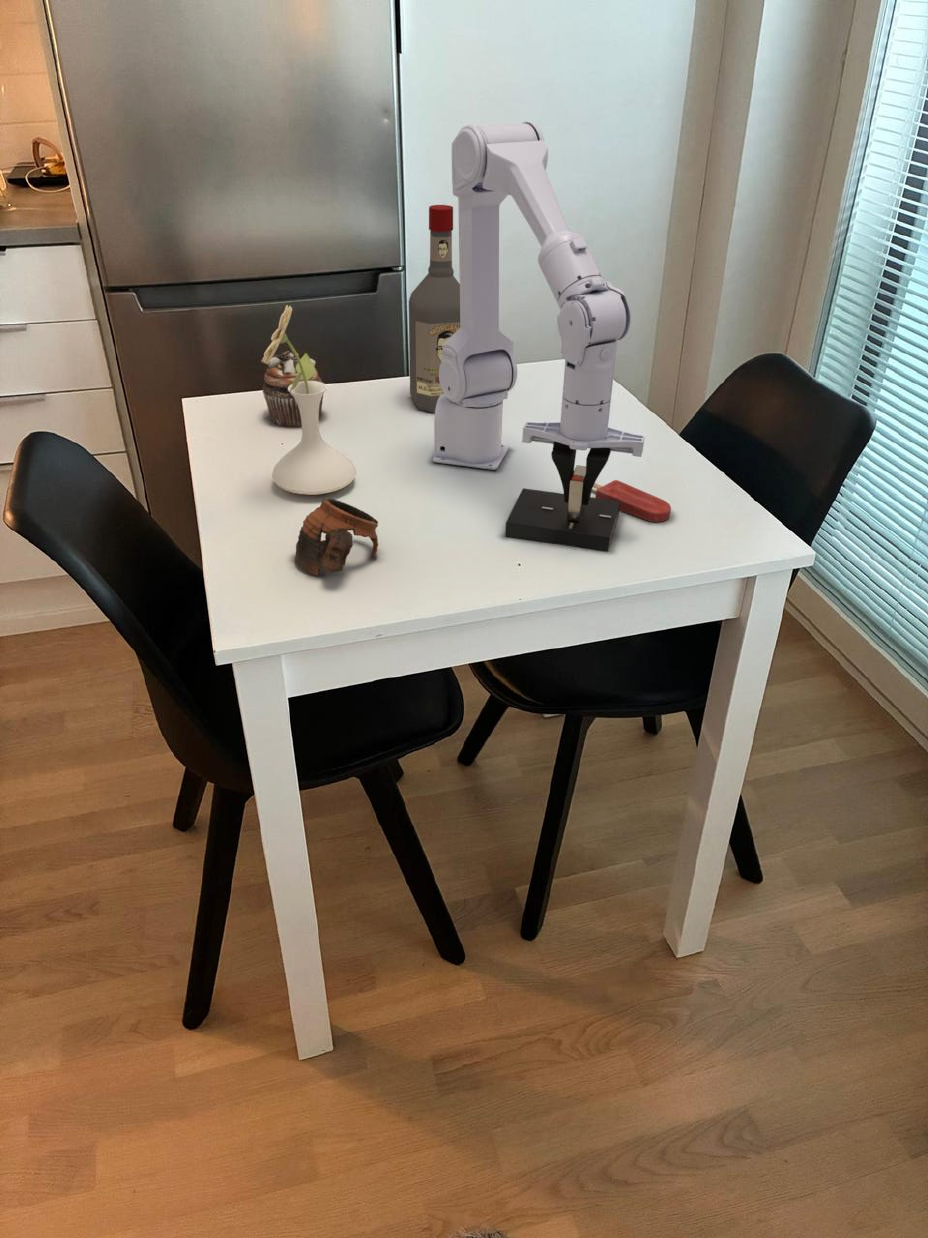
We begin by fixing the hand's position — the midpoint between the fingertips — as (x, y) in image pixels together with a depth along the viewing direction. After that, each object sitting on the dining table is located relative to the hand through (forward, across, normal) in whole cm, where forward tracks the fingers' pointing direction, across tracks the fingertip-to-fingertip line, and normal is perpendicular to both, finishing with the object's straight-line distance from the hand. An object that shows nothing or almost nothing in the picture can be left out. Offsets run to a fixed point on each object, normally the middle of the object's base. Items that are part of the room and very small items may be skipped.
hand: (577, 500), depth 119 cm
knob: (+2, 0, 0) cm, 2 cm away
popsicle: (+4, +5, +9) cm, 11 cm away
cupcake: (+4, -48, +23) cm, 54 cm away
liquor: (+4, -28, +36) cm, 46 cm away
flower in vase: (+4, -36, +1) cm, 37 cm away
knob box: (+4, -2, 0) cm, 4 cm away
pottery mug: (+4, -26, -17) cm, 31 cm away
